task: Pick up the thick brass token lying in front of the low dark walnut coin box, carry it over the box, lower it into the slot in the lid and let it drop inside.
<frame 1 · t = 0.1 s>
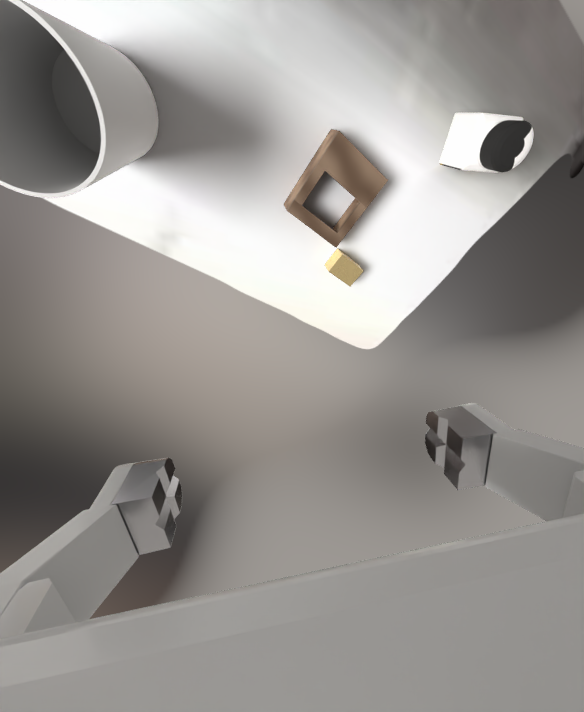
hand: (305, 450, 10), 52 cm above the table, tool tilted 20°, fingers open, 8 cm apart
medicine bottle: (463, 140, 51), on the table
cylinder vase: (111, 106, 42), on the table
brass token: (341, 264, 62), on the table
coin box: (330, 189, 53), on the table
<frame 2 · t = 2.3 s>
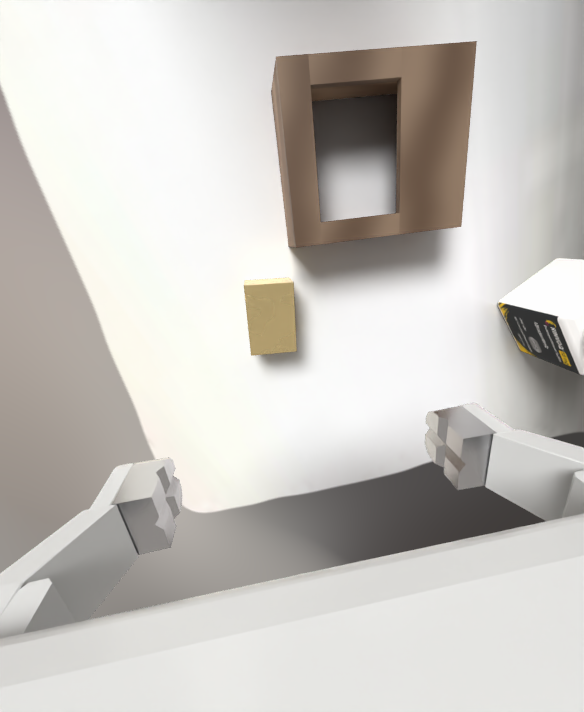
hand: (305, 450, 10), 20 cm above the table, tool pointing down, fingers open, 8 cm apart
medicine bottle: (534, 306, 32), on the table
brass token: (269, 311, 29), on the table
coin box: (357, 167, 25), on the table
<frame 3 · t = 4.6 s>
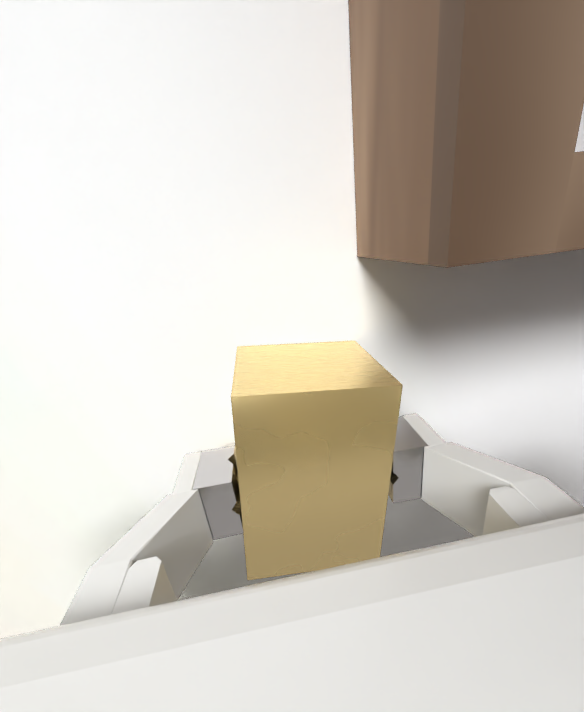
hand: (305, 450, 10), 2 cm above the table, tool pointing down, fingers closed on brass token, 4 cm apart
brass token: (297, 420, 11), on the table, touching gripper
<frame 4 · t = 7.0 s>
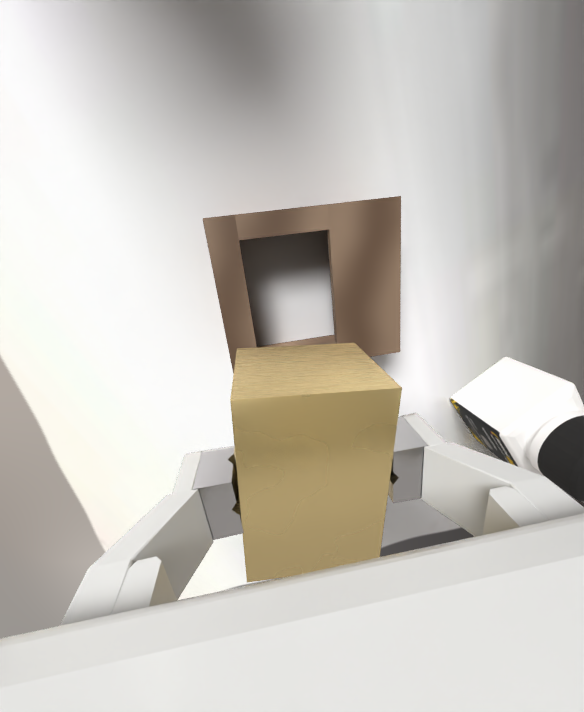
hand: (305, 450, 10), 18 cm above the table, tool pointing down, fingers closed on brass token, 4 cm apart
medicine bottle: (487, 397, 33), on the table
brass token: (297, 422, 11), point 16 cm above the table, touching gripper
coin box: (301, 286, 26), on the table
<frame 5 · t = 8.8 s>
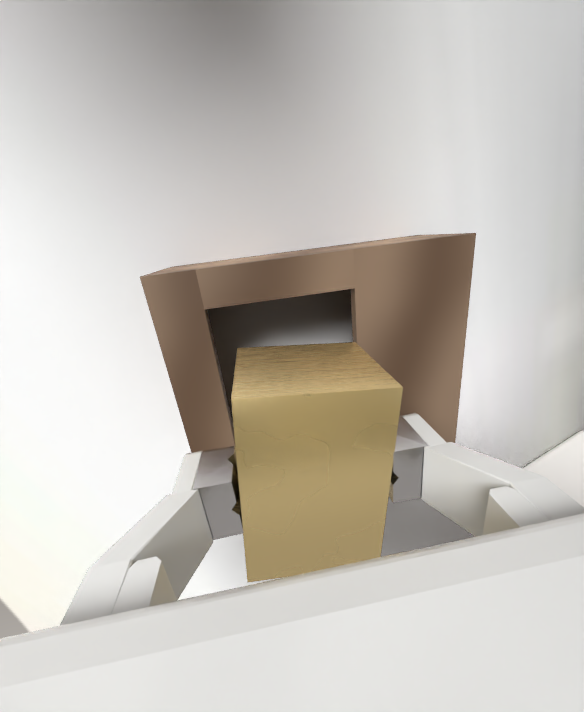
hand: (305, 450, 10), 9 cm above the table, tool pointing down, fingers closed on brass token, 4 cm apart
medicine bottle: (552, 478, 25), on the table
brass token: (297, 421, 11), point 7 cm above the table, touching gripper
coin box: (307, 349, 18), on the table
when the fingers open (6 cm above the table, at t = 9.7 s): brass token drops 4 cm, resting in coin box.
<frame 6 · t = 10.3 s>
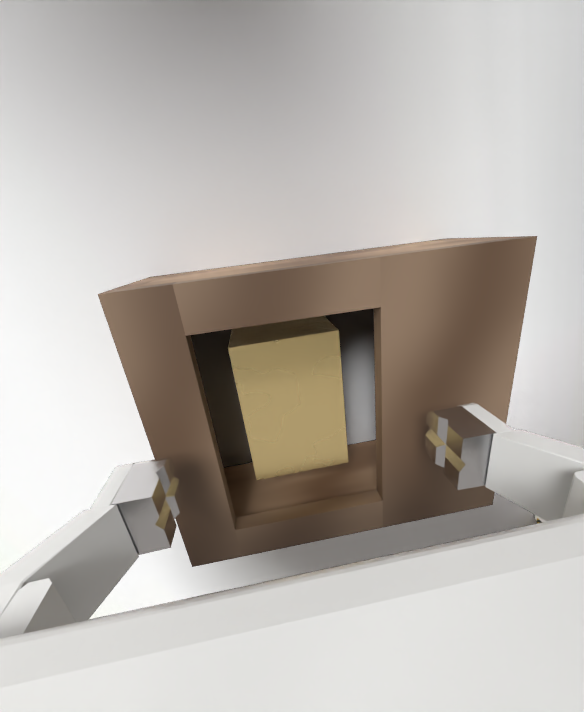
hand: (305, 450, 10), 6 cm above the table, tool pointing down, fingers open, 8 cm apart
brass token: (284, 374, 15), resting in coin box
coin box: (315, 372, 15), on the table
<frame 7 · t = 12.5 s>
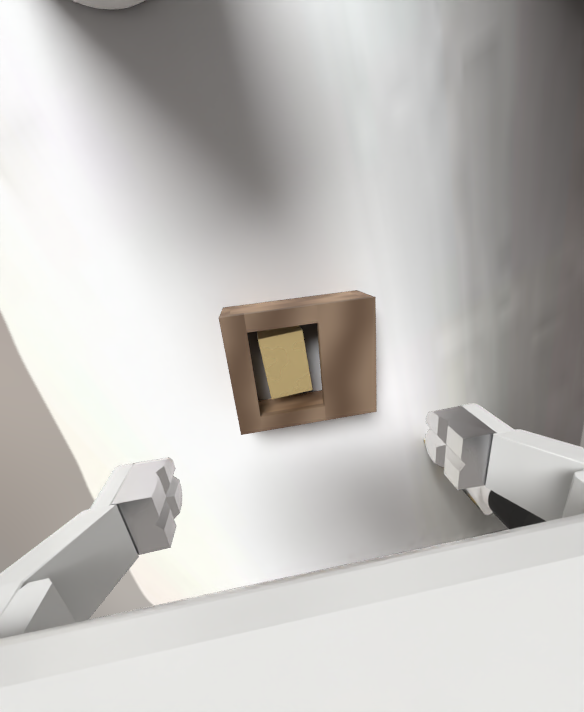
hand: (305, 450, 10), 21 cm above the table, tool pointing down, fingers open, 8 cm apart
medicine bottle: (456, 438, 38), on the table
brass token: (282, 353, 31), resting in coin box
coin box: (296, 352, 31), on the table
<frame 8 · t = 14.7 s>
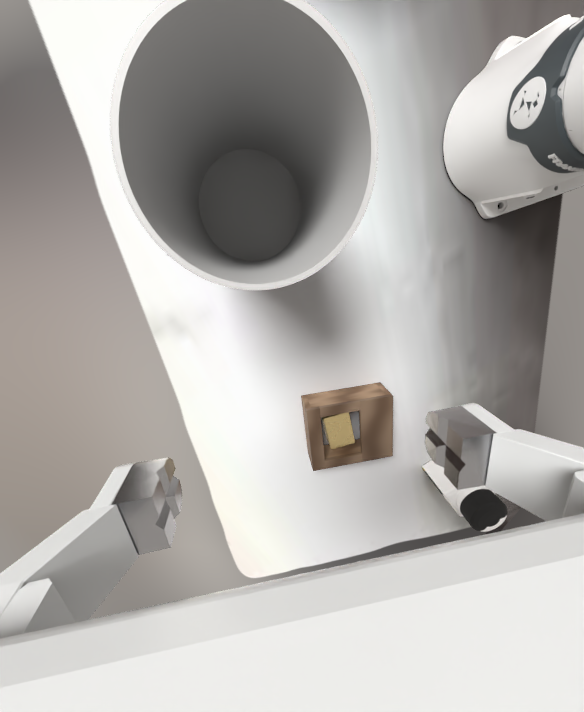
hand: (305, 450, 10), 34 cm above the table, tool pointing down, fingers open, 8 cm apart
medicine bottle: (444, 465, 57), on the table
cylinder vase: (250, 210, 38), on the table
brass token: (334, 418, 50), resting in coin box
coin box: (343, 418, 50), on the table
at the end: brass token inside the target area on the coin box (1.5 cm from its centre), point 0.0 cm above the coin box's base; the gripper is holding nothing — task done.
